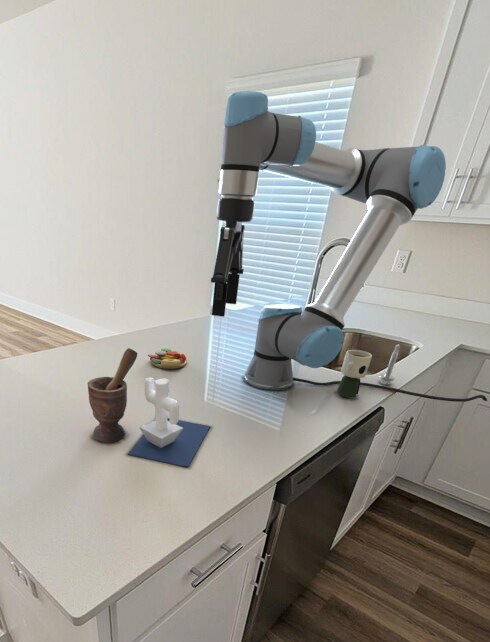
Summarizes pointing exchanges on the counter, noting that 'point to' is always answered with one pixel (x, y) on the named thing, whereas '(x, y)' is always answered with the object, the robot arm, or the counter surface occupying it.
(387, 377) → the screw
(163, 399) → the figurine
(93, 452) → the counter surface
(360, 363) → the character mug
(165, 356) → the toy food set
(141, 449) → the felt mat
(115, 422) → the mortar and pestle
